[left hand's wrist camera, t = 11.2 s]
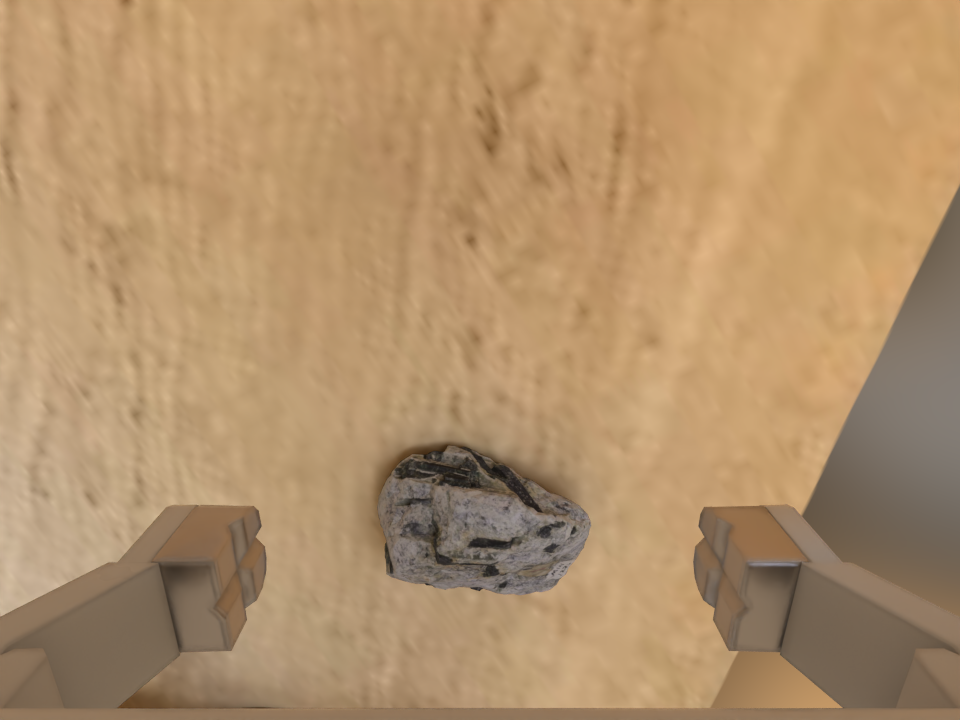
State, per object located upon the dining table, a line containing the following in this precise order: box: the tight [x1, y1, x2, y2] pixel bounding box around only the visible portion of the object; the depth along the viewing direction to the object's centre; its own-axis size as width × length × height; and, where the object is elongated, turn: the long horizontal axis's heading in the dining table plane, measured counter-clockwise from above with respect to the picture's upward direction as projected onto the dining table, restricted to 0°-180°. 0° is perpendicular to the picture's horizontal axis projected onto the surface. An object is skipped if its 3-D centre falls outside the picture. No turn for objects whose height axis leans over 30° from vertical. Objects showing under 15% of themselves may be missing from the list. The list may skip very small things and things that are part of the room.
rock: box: [377, 445, 591, 595], centre depth 40 cm, size 15×10×7 cm
